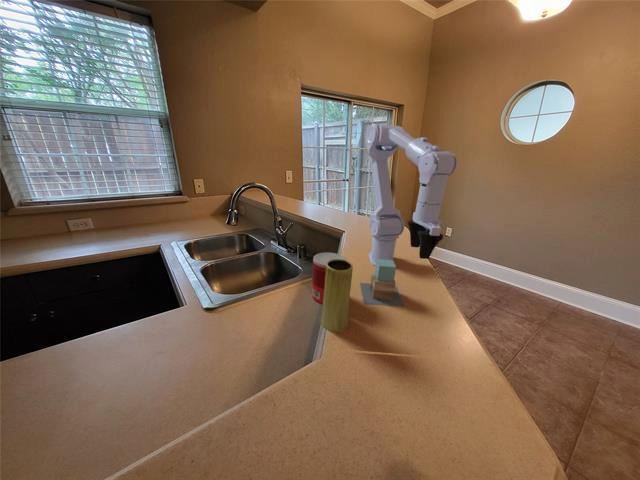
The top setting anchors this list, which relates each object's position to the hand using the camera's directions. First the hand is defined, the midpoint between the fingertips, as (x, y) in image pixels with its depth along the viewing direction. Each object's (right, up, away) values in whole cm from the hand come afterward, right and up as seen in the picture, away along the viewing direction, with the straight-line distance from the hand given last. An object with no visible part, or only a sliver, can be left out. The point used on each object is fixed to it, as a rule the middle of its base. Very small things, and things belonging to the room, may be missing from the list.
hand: (419, 252), depth 67 cm
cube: (-10, -6, -4) cm, 13 cm away
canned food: (-25, -12, -4) cm, 28 cm away
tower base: (-11, -11, -2) cm, 15 cm away
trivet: (-11, -11, -2) cm, 16 cm away
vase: (-24, -15, -13) cm, 31 cm away
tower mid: (-11, -9, -3) cm, 14 cm away
